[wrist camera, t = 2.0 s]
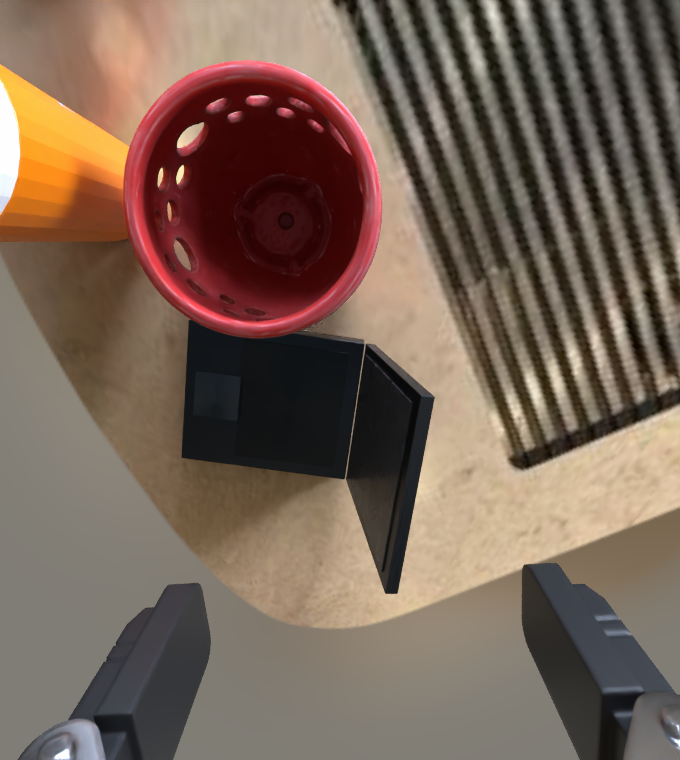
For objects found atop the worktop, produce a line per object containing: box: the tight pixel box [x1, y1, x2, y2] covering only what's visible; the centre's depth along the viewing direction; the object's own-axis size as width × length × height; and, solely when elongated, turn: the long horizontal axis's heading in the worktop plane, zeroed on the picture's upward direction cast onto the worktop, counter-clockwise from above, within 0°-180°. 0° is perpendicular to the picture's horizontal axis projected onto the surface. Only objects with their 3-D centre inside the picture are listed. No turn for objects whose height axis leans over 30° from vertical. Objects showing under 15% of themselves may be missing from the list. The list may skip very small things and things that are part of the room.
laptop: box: [182, 319, 364, 479], centre depth 37 cm, size 13×11×2 cm
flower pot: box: [123, 60, 382, 338], centre depth 29 cm, size 13×13×12 cm
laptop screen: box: [346, 344, 435, 594], centre depth 30 cm, size 13×11×1 cm
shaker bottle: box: [0, 65, 130, 242], centre depth 24 cm, size 9×9×20 cm
